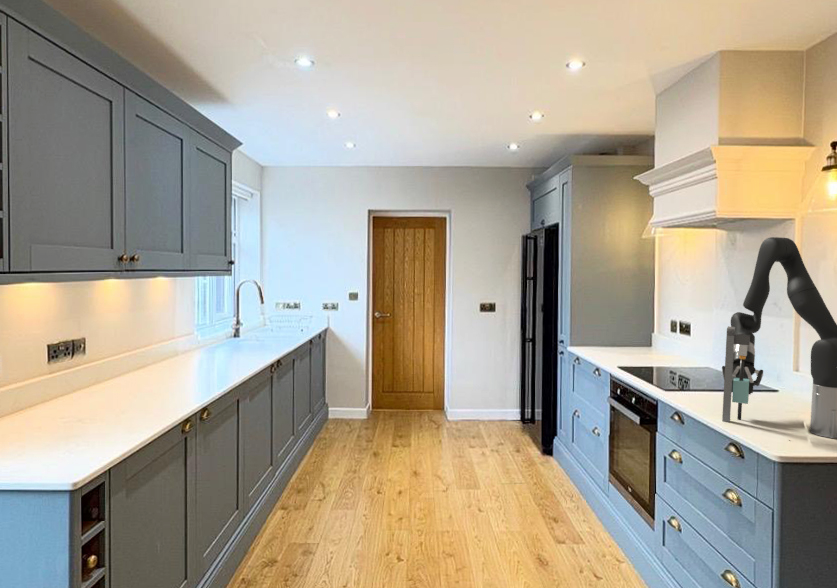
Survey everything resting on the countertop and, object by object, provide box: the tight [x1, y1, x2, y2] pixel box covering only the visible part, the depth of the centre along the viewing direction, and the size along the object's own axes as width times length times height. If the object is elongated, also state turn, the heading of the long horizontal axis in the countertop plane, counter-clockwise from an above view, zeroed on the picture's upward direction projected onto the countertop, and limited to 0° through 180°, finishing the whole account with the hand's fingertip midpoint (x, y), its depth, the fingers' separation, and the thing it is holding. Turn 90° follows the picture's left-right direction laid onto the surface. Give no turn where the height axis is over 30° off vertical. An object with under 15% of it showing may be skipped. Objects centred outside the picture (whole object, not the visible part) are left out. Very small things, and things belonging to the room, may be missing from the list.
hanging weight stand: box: [721, 326, 750, 423], centre depth 206 cm, size 8×7×35 cm
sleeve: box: [731, 378, 750, 405], centre depth 209 cm, size 7×5×8 cm
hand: (740, 392), depth 208 cm, fingers closed on sleeve, 5 cm apart
